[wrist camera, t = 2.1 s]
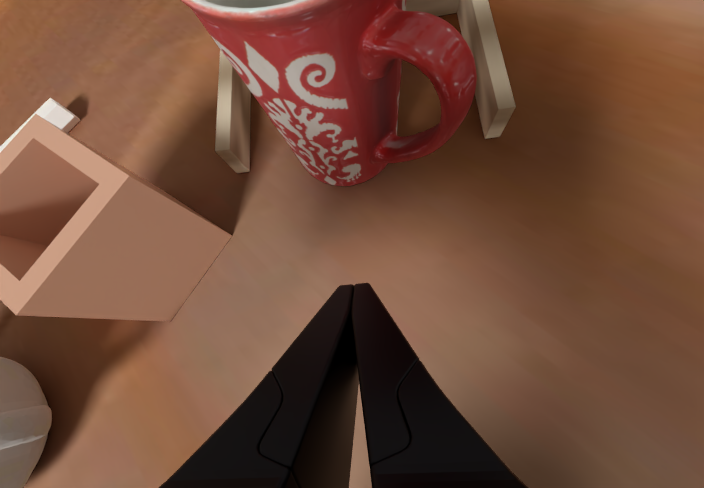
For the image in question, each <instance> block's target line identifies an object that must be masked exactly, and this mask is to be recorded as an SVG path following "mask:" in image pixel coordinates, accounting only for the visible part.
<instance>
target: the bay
mask: <svg viewBox="0 0 704 488" xmlns="http://www.w3.org/2000/svg"><path fill="white" fill-rule="evenodd" d="M406 11H419V12H426V13H430V14H432V15H435V16H442V15H447V14H453V13H457V16H458V20H459V25H460V29H461V34H462V37H463V38H464V40H465V41H466V42H467V44H468V45H469V47H470V49H471V51H472V53H473V56H474V60H475V66H476V74H477V81H476V89H475V97H476V101H477V106H478V111H479V115H480V120H481V124H482V129H483V133H484V138H485V139H487V138H494V137H500V135H501V134H502V132H503V130H504V128H505V126H506V124H507V122H508V121H509V119H510V117H511V115H512V113H513V111H514V110H515V108H516V105H515V102H514V98H513V94H512V90H511V86H510V82H509V79H508V75H507V71H506V67H505V63H504V59H503V56H502V52H501V48H500V44H499V40H498V36H497V33H496V29H495V25H494V21H493V17H492V13H491V10H490V6H489V2H488V0H406ZM250 119H251V91H250V90H249V88H248V87H247V86H246V84H245V83H244V82H243V80H242V79H241V77H240V76H239V75H238V73H237V72H236V70H235V69H234V68H233V66H232V65H231V64H230V62H229V61H228V59H227V58H226V57H225V55H224V54H223V52H222V51H221V49H220V63H219V83H218V102H217V122H216V141H215V152H216V153H217V154H218V155H219V156H220V157H221V158H222V159H223V160H224V161H225V162H226V163H227V164H228V165H229V166H230V167H231V168H232V169H233V170H234V171H235V172H236V173H243V172H250Z"/></svg>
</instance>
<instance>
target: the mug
mask: <svg viewBox="0 0 704 488" xmlns="http://www.w3.org/2000/svg"><path fill="white" fill-rule="evenodd" d="M181 1H182V2H183V3H185V4H186V5H187V6H189V7H190V8H191V9H192V10H193V11H194V13H195V14H196V16H197V17H198V18H199V20H200V21H201V22H202V24H203V25H204V27H205V28H206V29H207V31H208V32H209V34H210V35H211V36H212V38H213V39H214V41H215V42H216V44H217V45H218V46H219V48H220V49H221V51H222V52H223V54H224V55H225V57H226V58H227V59H228V61H229V62H230V64H231V65H232V66H233V68H234V69H235V70H236V72H237V73H238V75H239V76H240V77H241V79H242V80H243V82H244V83H245V84H246V86H247V87H248V88H249V90H250V91H251V92H252V94H253V95H254V97H255V98H256V100H257V101H258V102H259V104H260V105H261V106H262V108H263V109H264V111H265V112H266V113H267V115H268V116H269V118H270V120H271V121H272V123H273V124H274V125H275V126H276V127H277V129H278V130H279V132H280V133H281V135H282V136H283V138H284V139H285V140H286V142H287V143H288V145H289V146H290V147H291V149H292V150H293V152H294V153H295V155H296V156H297V158H298V159H299V161H300V162H301V164H302V165H303V167H304V168H305V169H306V170H307V171H308V172H309V173H310V174H311V175H312V176H313V177H315V178H316V179H318V180H320V181H322V182H324V183H327V184H330V185H336V186H351V185H355V184H359V183H363V182H365V181H367V180H369V179H371V178H373V177H374V176H376V175H377V174H378V173H380V172H381V171H382V170H383V169H384V168H385V166H386V165H387V164H388V163H398V162H404V161H410V160H414V159H417V158H420V157H423V156H426V155H428V154H430V153H432V152H434V151H436V150H437V149H438V148H440V147H441V146H442V145H443V144H445V143H446V142H447V141H448V140H449V139H450V137H451V136H452V135H453V134H454V133H455V131H456V130H457V128H458V127H459V126H460V124H461V123H462V121H463V120H464V118H465V117H466V115H467V113H468V111H469V109H470V106H471V104H472V101H473V98H474V94H475V89H476V81H477V74H476V66H475V60H474V56H473V53H472V51H471V49H470V47H469V45H468V44H467V42H466V41H465V40H464V38H463V37H462V35H461V34H460V33H459V32H458V31H457V30H456V29H455V28H454V27H453V26H452V25H451V24H450V23H448V22H447V21H445V20H444V19H442V18H440V17H437V16H435V15H432V14H430V13H426V12H419V11H406V0H181ZM402 60H404V61H407V62H409V63H411V64H412V65H414V66H416V67H417V68H418V69H419V70H421V71H422V72H423V73H424V74H425V75H426V76H427V77H428V78H429V79H430V81H431V82H432V83H433V85H434V88H435V90H436V91H437V94H438V96H439V100H440V104H441V120H440V123H439V124H438V125H436V126H434V127H433V128H430V129H428V130H426V131H424V132H420V133H417V134H415V135H411V136H406V137H400V136H397V122H398V109H399V95H400V81H401V66H402Z"/></svg>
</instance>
